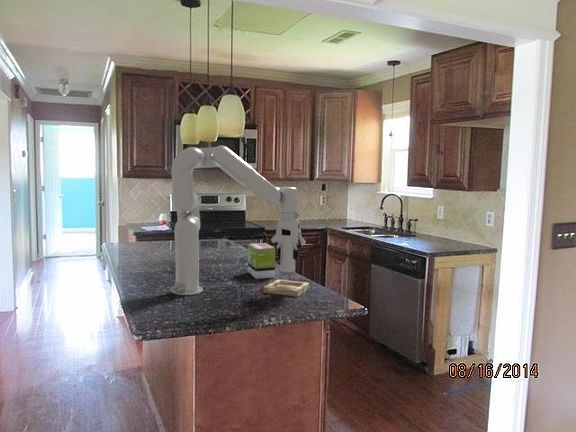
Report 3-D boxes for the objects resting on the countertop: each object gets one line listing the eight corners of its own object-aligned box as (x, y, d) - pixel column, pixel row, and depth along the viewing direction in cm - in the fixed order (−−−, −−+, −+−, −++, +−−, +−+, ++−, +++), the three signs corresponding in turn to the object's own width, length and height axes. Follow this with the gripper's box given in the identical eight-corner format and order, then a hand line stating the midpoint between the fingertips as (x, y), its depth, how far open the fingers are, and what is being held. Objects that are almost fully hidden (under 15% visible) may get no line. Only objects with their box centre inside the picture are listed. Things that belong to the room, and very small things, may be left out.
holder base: (297, 296, 193) (297, 290, 192) (264, 292, 198) (264, 286, 198) (309, 288, 206) (309, 282, 206) (278, 284, 212) (278, 279, 212)
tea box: (246, 272, 236) (247, 243, 235) (266, 271, 240) (266, 242, 239) (255, 279, 222) (255, 248, 221) (275, 277, 226) (276, 247, 225)
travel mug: (294, 271, 205) (295, 225, 203) (295, 274, 198) (296, 227, 197) (280, 271, 205) (280, 225, 203) (280, 274, 198) (280, 227, 196)
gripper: (310, 216, 199) (310, 258, 201) (273, 214, 206) (273, 255, 208) (304, 218, 193) (304, 261, 194) (266, 216, 199) (265, 258, 201)
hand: (288, 257), depth 201 cm, fingers closed on travel mug, 6 cm apart
